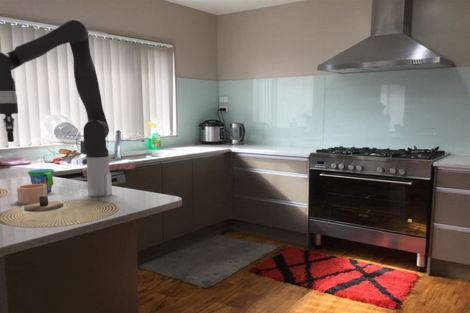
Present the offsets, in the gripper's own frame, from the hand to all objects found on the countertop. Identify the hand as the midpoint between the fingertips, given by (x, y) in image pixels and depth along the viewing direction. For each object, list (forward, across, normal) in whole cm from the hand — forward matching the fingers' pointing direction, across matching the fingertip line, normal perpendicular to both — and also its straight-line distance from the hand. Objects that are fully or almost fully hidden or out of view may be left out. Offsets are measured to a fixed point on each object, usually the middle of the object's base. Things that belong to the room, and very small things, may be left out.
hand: (10, 141), depth 174 cm
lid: (+25, -25, -9) cm, 36 cm away
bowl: (+25, -9, -6) cm, 27 cm away
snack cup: (+25, +12, -11) cm, 30 cm away
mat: (+25, -25, -9) cm, 37 cm away
